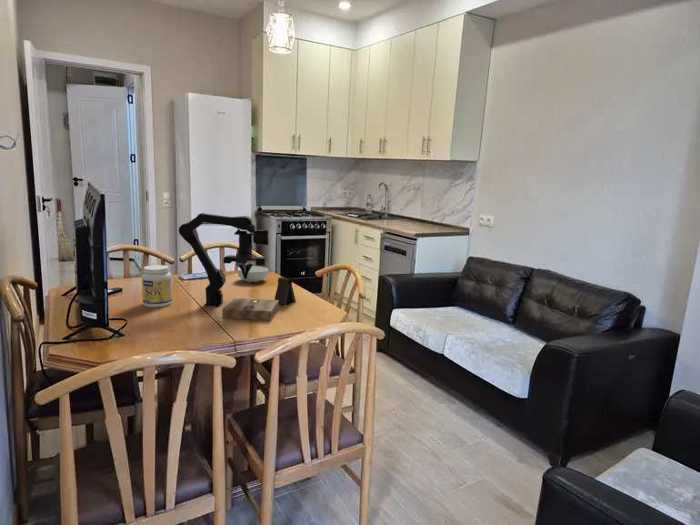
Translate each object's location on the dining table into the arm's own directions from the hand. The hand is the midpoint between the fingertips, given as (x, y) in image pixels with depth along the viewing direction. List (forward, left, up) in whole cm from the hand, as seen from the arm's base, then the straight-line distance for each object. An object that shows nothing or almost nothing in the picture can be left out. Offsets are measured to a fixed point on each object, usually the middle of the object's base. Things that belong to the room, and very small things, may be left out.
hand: (245, 278), depth 208 cm
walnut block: (+6, -13, -12) cm, 19 cm away
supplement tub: (-38, -6, -12) cm, 40 cm away
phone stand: (+17, +5, -12) cm, 22 cm away
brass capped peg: (+6, -8, -12) cm, 16 cm away
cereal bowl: (-8, +46, -12) cm, 48 cm away
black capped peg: (+6, -18, -12) cm, 22 cm away
